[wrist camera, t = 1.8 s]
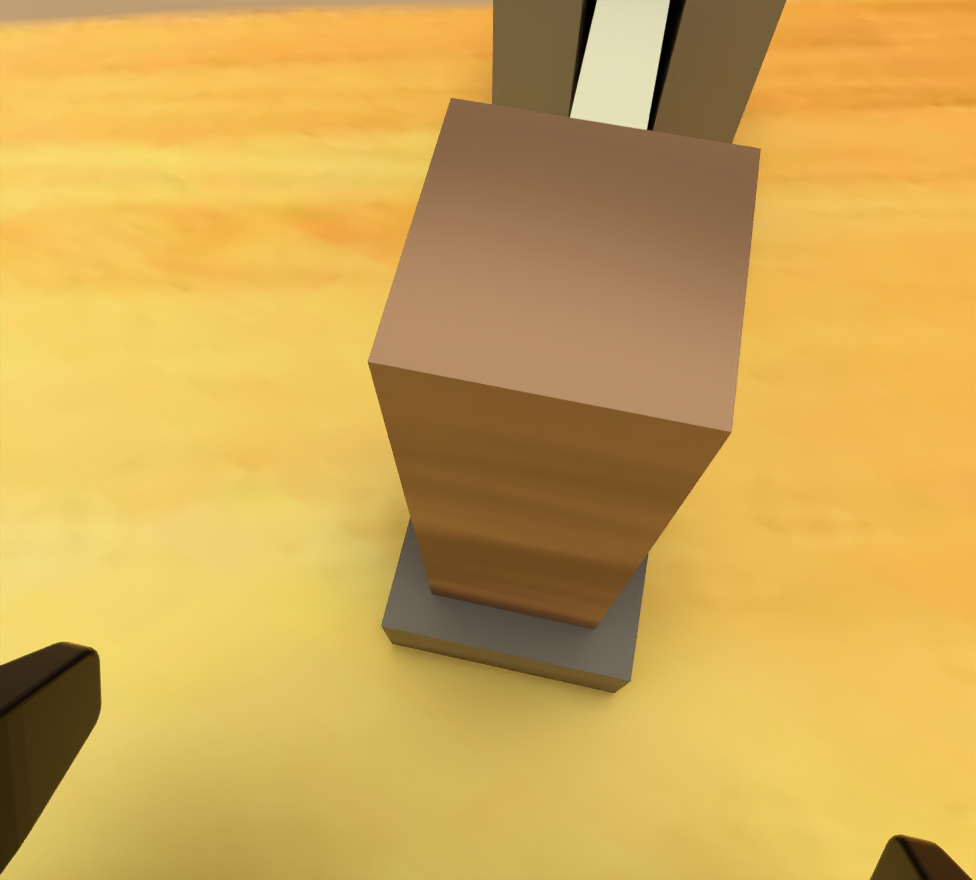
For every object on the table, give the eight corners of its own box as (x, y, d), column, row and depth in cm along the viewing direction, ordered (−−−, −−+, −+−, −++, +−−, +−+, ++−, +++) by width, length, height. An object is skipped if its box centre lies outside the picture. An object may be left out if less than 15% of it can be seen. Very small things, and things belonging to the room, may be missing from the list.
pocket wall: (677, 285, 26) (803, -46, 16) (490, 251, 26) (494, -90, 16) (705, 89, 29) (824, -287, 19) (540, 63, 30) (569, -318, 20)
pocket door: (575, 437, 23) (628, 231, 14) (524, 427, 23) (546, 217, 14) (616, 217, 26) (679, -57, 17) (571, 210, 26) (612, -67, 18)
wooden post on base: (614, 692, 21) (822, 540, 8) (392, 643, 21) (251, 424, 8) (645, 482, 23) (844, 103, 10) (444, 442, 24) (396, 33, 11)
